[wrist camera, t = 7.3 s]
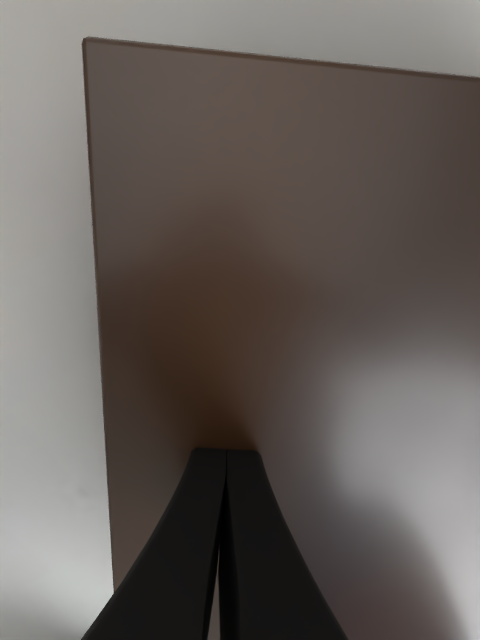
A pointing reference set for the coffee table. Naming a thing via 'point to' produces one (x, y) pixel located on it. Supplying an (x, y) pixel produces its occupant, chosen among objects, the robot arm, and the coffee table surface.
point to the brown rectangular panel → (296, 311)
